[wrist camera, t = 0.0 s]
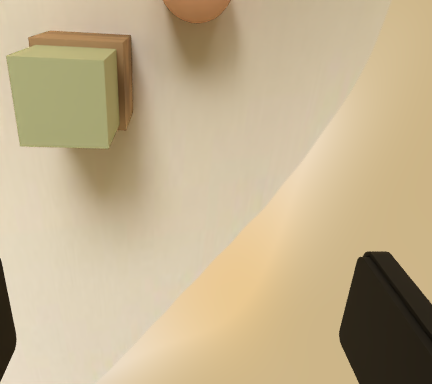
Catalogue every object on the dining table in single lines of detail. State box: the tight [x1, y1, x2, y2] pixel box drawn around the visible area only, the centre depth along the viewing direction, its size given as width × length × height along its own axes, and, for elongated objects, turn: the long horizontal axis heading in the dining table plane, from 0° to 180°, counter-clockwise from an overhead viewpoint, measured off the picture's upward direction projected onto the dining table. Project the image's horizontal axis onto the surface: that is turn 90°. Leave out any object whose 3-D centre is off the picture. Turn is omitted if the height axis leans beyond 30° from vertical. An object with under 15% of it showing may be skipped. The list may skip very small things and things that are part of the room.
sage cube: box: [6, 45, 120, 149], centre depth 30 cm, size 6×6×6 cm
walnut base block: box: [28, 31, 133, 130], centre depth 36 cm, size 7×7×6 cm
